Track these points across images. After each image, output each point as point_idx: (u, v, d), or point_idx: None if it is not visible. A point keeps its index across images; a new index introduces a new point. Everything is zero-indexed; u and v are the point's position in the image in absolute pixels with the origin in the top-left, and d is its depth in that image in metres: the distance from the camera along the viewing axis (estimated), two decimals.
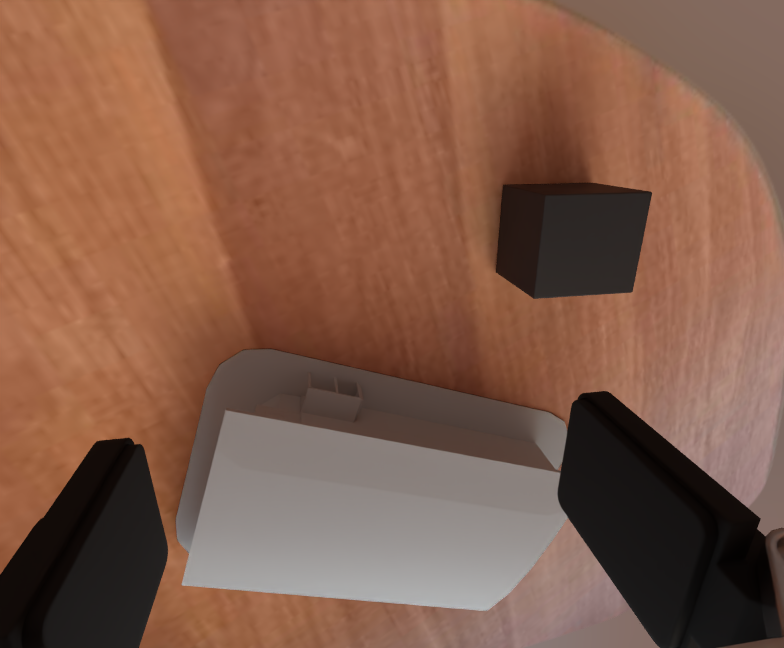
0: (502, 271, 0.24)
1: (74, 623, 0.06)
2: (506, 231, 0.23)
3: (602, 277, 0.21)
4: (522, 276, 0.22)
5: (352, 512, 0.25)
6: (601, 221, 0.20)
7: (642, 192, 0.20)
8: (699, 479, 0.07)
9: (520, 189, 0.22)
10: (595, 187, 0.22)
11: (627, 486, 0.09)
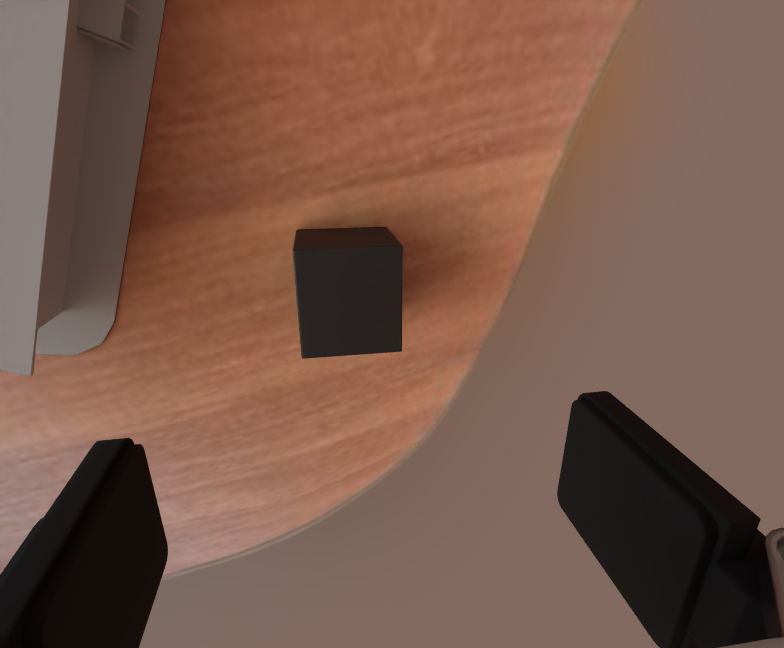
0: (302, 232, 0.22)
1: (74, 623, 0.06)
2: (344, 231, 0.23)
3: (317, 322, 0.20)
4: (309, 242, 0.20)
5: None
6: (376, 308, 0.21)
7: (401, 342, 0.21)
8: (699, 479, 0.07)
9: (392, 235, 0.22)
10: None
11: (627, 486, 0.09)
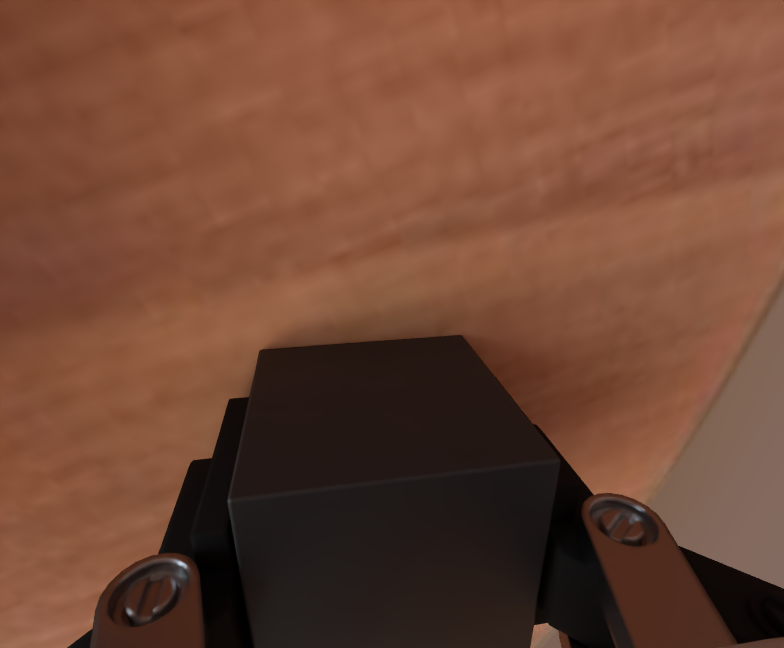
0: (270, 368, 0.09)
1: None
2: (373, 359, 0.10)
3: None
4: (285, 433, 0.07)
5: None
6: (471, 609, 0.07)
7: None
8: None
9: (493, 377, 0.09)
10: None
11: None
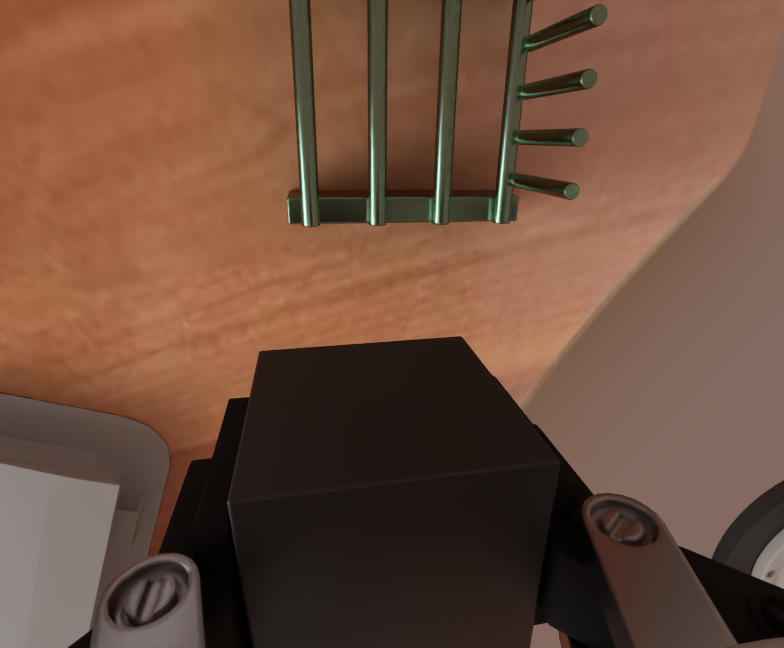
0: (269, 369, 0.09)
1: None
2: (373, 360, 0.10)
3: None
4: (285, 434, 0.07)
5: None
6: (471, 610, 0.07)
7: None
8: None
9: (493, 378, 0.09)
10: None
11: None
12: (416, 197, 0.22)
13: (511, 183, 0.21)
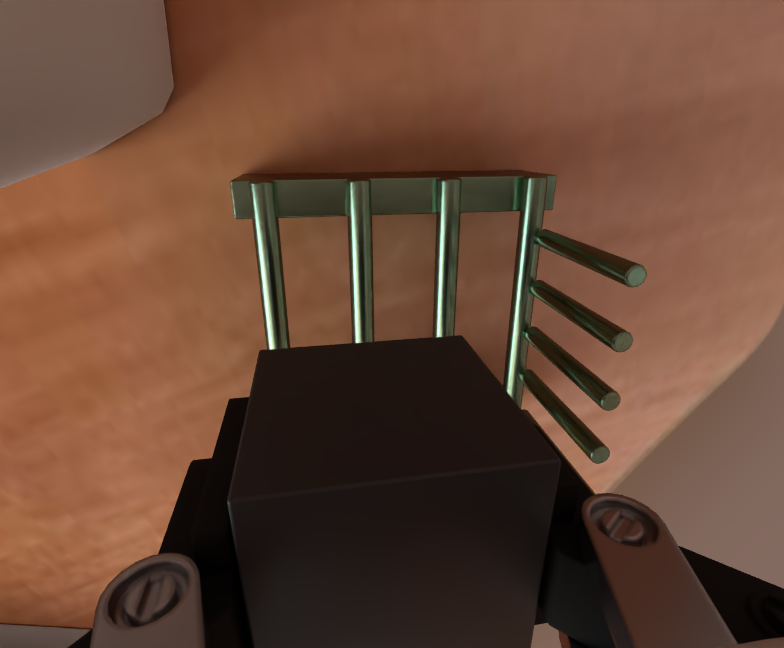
0: (269, 368, 0.09)
1: None
2: (373, 359, 0.10)
3: None
4: (285, 433, 0.07)
5: None
6: (471, 609, 0.07)
7: None
8: None
9: (493, 377, 0.09)
10: None
11: None
12: None
13: None
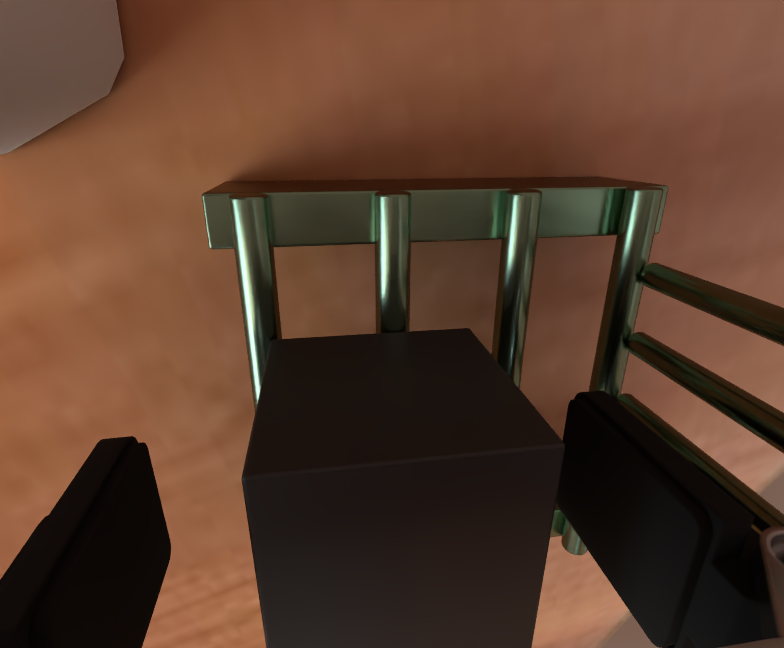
0: (281, 356, 0.09)
1: (80, 619, 0.06)
2: (382, 349, 0.10)
3: (318, 637, 0.07)
4: (297, 416, 0.07)
5: None
6: (476, 592, 0.08)
7: None
8: (694, 478, 0.08)
9: (500, 368, 0.09)
10: None
11: (623, 485, 0.09)
12: None
13: None
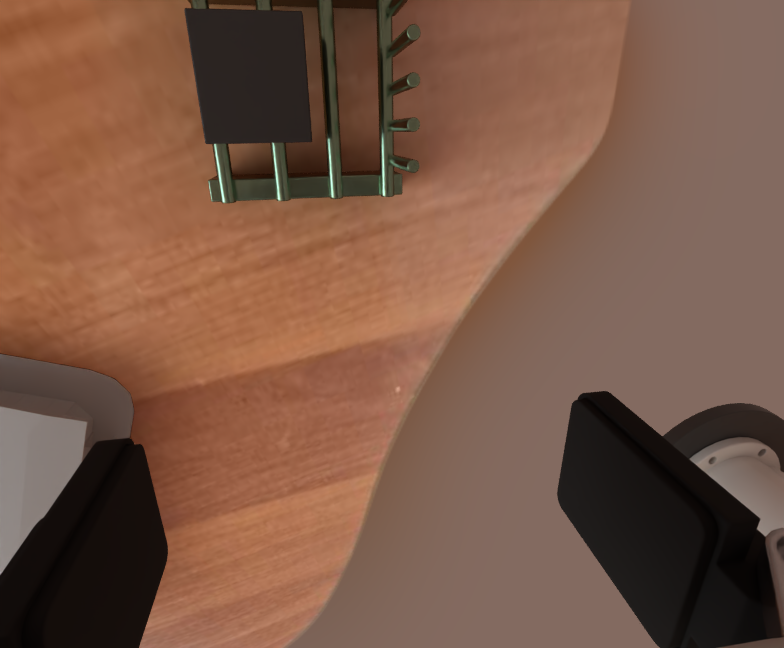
0: None
1: (74, 623, 0.06)
2: None
3: (218, 100, 0.20)
4: None
5: None
6: (280, 86, 0.20)
7: (310, 131, 0.21)
8: (699, 479, 0.07)
9: None
10: None
11: (627, 486, 0.09)
12: (315, 177, 0.27)
13: (389, 163, 0.26)
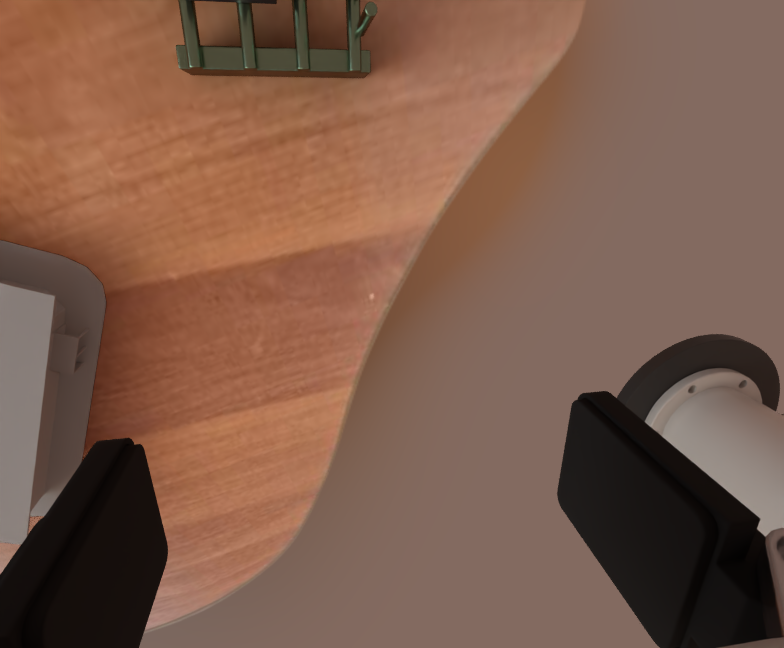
0: None
1: (74, 623, 0.06)
2: None
3: None
4: None
5: None
6: None
7: None
8: (699, 479, 0.07)
9: None
10: None
11: (627, 486, 0.09)
12: (283, 48, 0.27)
13: (355, 32, 0.26)
